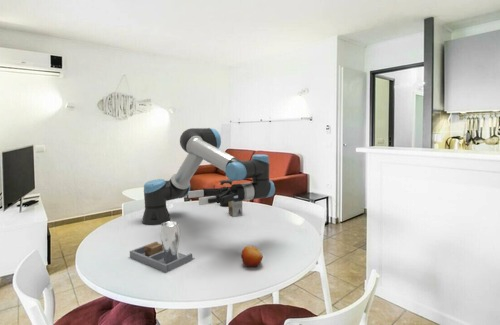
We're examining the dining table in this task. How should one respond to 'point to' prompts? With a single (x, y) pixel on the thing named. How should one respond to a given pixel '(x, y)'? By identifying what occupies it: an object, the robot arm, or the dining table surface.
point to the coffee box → (235, 208)
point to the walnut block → (153, 249)
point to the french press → (225, 187)
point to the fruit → (251, 256)
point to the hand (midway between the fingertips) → (193, 198)
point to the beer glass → (170, 240)
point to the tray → (159, 259)
